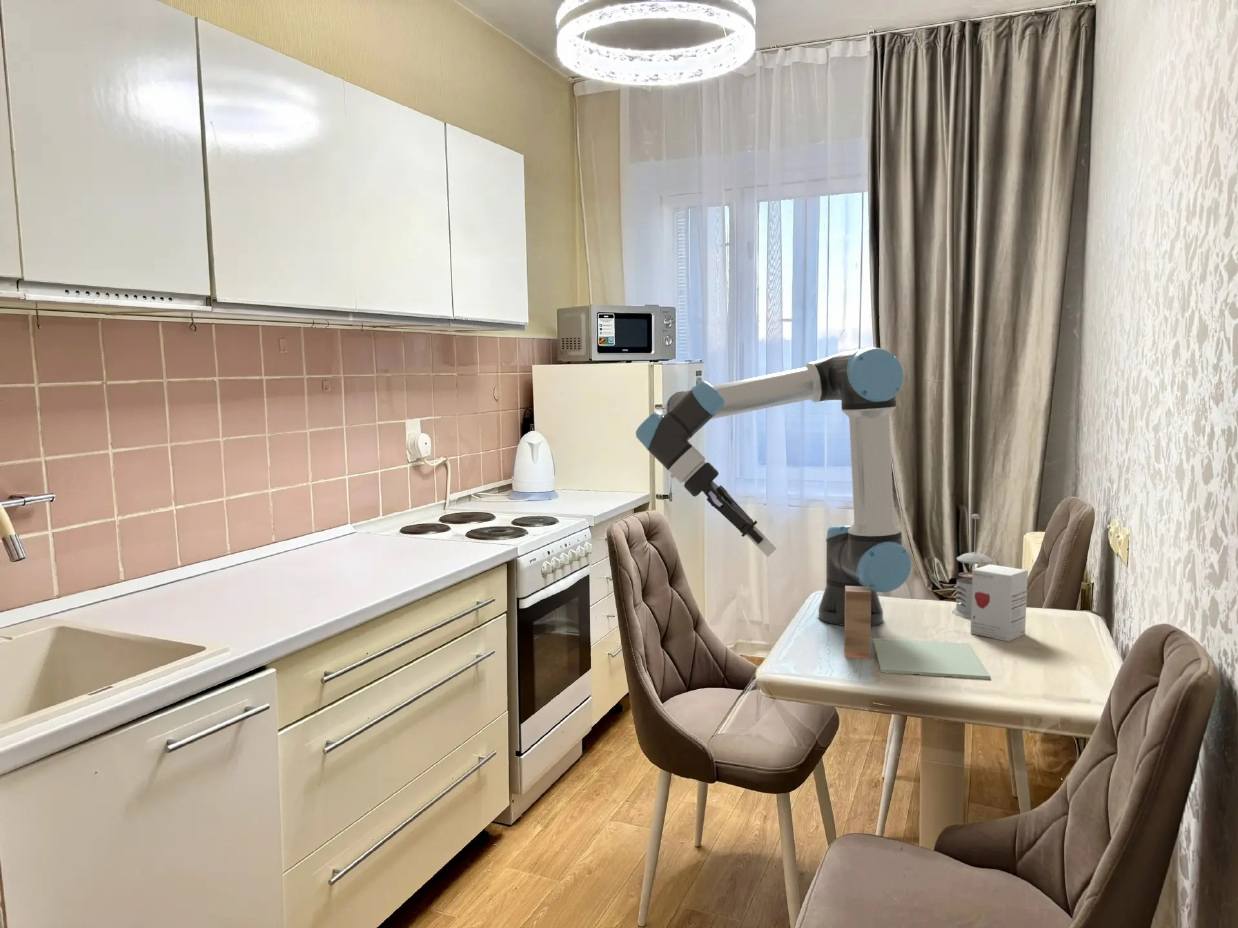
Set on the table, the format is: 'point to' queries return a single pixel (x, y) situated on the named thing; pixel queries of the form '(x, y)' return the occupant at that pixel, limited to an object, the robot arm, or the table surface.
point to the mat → (929, 658)
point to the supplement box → (999, 602)
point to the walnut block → (857, 622)
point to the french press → (968, 579)
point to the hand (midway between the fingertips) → (772, 551)
